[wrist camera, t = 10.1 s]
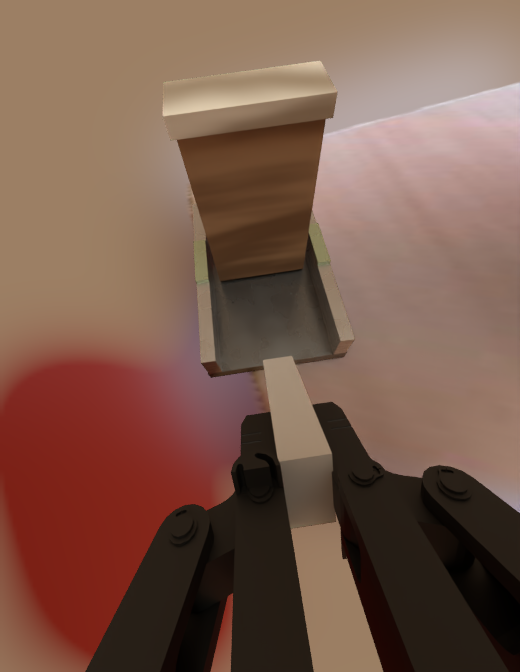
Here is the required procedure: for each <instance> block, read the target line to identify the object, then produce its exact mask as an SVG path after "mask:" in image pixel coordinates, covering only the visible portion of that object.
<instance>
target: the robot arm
mask: <svg viewBox="0 0 520 672" xmlns="http://www.w3.org/2000/svg"><path fill="white" fill-rule="evenodd" d="M263 365H264V372H265V378H266V385H267V392H268V398H269V405H270V412H267V413H261V414H255V415H248V416H246V418H245V419H244V421H243V423H242V425H241V456H240V457H239V458H238V459H237V460H236V461H235V463H234V464H233V467H232V471H231V475H232V479H233V483H234V487H235V492H234V494H233V495H232V496H231V497H230V498H229V499H227V500H226V501H224V502H223V503H221V504H219V505H217V506H215V507H213V508H211V509H209V510H207V511H206V510H205V509H204V508H203V507H201V506H198V505H195V504H192V505H185V506H182V507H180V508H179V509H176V510H175V511H173V512H172V513H171V514H170V515H169V516H168V517H166V519H165V520H164V522H163V523H162V525H161V526H160V528H159V529H158V531H157V533H156V536H155V537H154V539H153V541H152V543H151V545H150V547H149V549H148V551H147V553H146V555H145V557H144V559H143V561H142V563H141V565H140V566H139V568H138V570H137V573H136V574H135V576H134V578H133V580H132V582H131V584H130V586H129V588H128V590H127V592H126V594H125V596H124V598H123V600H122V602H121V604H120V606H119V608H118V609H117V611H116V613H115V615H114V617H113V619H112V621H111V623H110V625H109V627H108V629H107V631H106V633H105V635H104V637H103V639H102V641H101V643H100V645H99V646H98V648H97V650H96V652H95V654H94V656H93V658H92V660H91V662H90V664H89V666H88V668H87V670H86V672H210V671H211V667H212V662H213V658H214V653H215V649H216V644H217V640H218V636H219V631H220V627H221V623H222V619H223V614H224V610H225V605H226V601H227V597H228V596H229V595H230V594H232V593H233V619H232V652H231V672H314V671H313V665H312V658H311V652H310V646H309V640H308V634H307V628H306V622H305V616H304V609H303V603H302V597H301V591H300V584H299V578H298V572H297V566H296V560H295V553H294V547H293V541H292V535H291V528H298V527H305V526H312V525H318V524H325V523H331V522H336V515H337V518H338V521H339V524H340V527H341V544H342V557H343V559H348V562H349V565H350V569H351V571H352V575H353V578H354V581H355V584H356V587H357V590H358V594H359V597H360V600H361V603H362V606H363V609H364V612H365V615H366V618H367V622H368V625H369V628H370V631H371V634H372V637H373V640H374V643H375V647H376V649H377V653H378V656H379V659H380V662H381V665H382V668H383V672H520V513H519V512H517V511H516V510H515V509H513V508H512V507H511V506H509V505H508V504H507V503H506V502H504V501H503V500H502V499H500V498H499V497H498V496H496V495H495V494H494V493H492V492H491V491H490V490H489V489H487V488H486V487H485V486H483V485H482V484H481V483H479V482H478V481H477V480H476V479H474V478H473V477H471V476H470V475H468V474H466V473H465V472H463V471H461V470H458V469H455V468H452V467H449V466H440V465H438V466H433V467H429V468H428V469H427V470H425V471H424V473H423V477H422V478H418V477H410V476H403V475H398V474H393V473H390V472H388V471H386V470H385V469H384V468H383V467H382V466H381V465H380V464H378V463H377V462H375V461H374V460H372V459H371V458H370V457H369V456H368V454H367V452H366V450H365V449H364V447H363V445H362V443H361V442H360V440H359V438H358V437H357V435H356V433H355V431H354V430H353V428H352V427H351V424H350V423H349V421H348V420H347V417H346V416H345V414H344V412H343V411H342V409H341V408H340V407H338V406H337V405H336V404H334V403H333V402H328V403H321V404H315V405H312V404H311V401H310V399H309V396H308V394H307V391H306V389H305V387H304V384H303V382H302V379H301V377H300V374H299V372H298V370H297V367H296V365H295V362H294V360H293V357H292V356H287V357H280V358H274V359H267V360H263ZM335 512H336V515H335ZM346 556H347V557H346Z"/></svg>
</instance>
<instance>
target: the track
mask: <svg viewBox="0 0 520 672" xmlns="http://www.w3.org/2000/svg"><path fill="white" fill-rule="evenodd" d="M192 207H193V226H194V242H193V243H194V262H195V281H196V283H197V299H198V318H199V337H200V353H201V354H200V355H201V364H202V365H203V366H204V368H205V369H206V370H207V371H208V374H209V376H210V377H211V378H212V377H218V376H225V375H231V374H237V373H244V372H250V371H256V370H263V369H264V365H263V360H267V359H274V358H280V357H287V356H292V357H293V360H294V362H295V364H301V363H307V362H314V361H320V360H326V359H333V358H339V357H344V356H345V354H346V353H347V350H348V349H349V347H350V346H351V344H352V343H353V341H354V340H355V338H354V335H353V332H352V329H351V326H350V323H349V320H348V317H347V314H346V311H345V308H344V305H343V302H342V299H341V295H340V292H339V289H338V286H337V283H336V280H335V277H334V274H333V271H332V268H331V265H330V262H331V260H330V257H329V254H328V251H327V248H326V245H325V242H324V239H323V236H322V233H321V230H320V227H319V224H318V223H316V220H315V217H314V214H313V211H312V212H311V219H310V226H309V232H308V239H307V246H306V252H305V259H304V265H303V269H298V270H292V271H285V272H278V273H272V274H265V275H258V276H252V277H245V278H239V279H232V280H225V281H220V279H219V276H218V272H217V269H216V266H215V263H214V259H213V256H212V253H211V250H210V246H209V243H208V240H207V237H206V233H205V230H204V227H203V224H202V220H201V217H200V214H199V210H198V207H197V204H192Z"/></svg>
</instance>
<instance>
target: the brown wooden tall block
mask: <svg viewBox="0 0 520 672" xmlns="http://www.w3.org/2000/svg"><path fill="white" fill-rule="evenodd" d="M336 97H337V90H336V89H335V87H334V85H333V83H332V81H331V79H330V78H329V76H328V74H327V72H326V70H325V68H324V66H323V65H322V63H321V61H315V62H308V63H301V64H294V65H286V66H279V67H272V68H264V69H257V70H250V71H243V72H236V73H228V74H220V75H213V76H206V77H199V78H192V79H184V80H178V81H169V82H164V83H163V119H164V122H165V125H166V128H167V131H168V134H169V137H170V140H171V141H172V140H177V142H178V145H179V148H180V151H181V155H182V158H183V161H184V165H185V168H186V171H187V174H188V178H189V181H190V184H191V188H192V191H193V194H194V197H195V201H196V204H197V207H198V210H199V214H200V217H201V220H202V224H203V227H204V230H205V233H206V237H207V240H208V243H209V246H210V250H211V253H212V256H213V259H214V263H215V266H216V269H217V272H218V276H219V279H220V281H225V280H232V279H239V278H245V277H252V276H258V275H265V274H272V273H278V272H285V271H292V270H298V269H303V265H304V259H305V252H306V246H307V239H308V232H309V226H310V219H311V212H312V206H313V199H314V193H315V186H316V179H317V173H318V166H319V160H320V153H321V146H322V140H323V133H324V127H325V119H328V118H333V114H334V109H335V103H336Z"/></svg>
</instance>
